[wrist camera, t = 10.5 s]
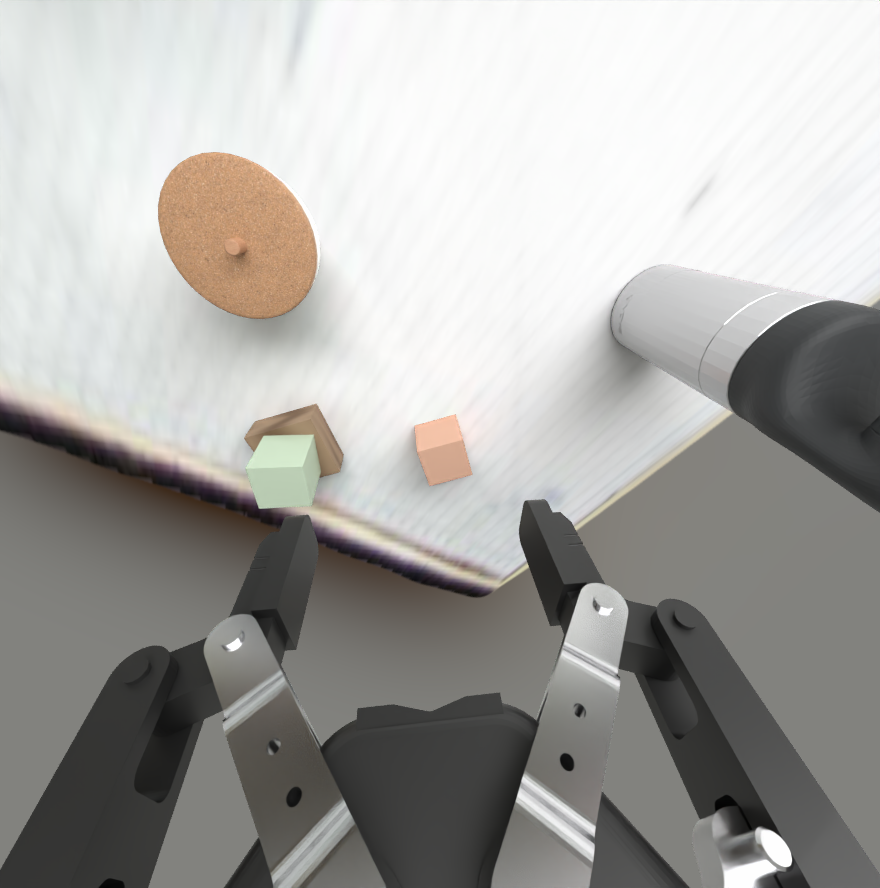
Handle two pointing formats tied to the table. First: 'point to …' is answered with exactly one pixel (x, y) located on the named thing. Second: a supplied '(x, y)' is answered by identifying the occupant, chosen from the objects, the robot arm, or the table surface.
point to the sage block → (284, 471)
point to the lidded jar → (238, 235)
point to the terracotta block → (442, 450)
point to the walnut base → (301, 424)
